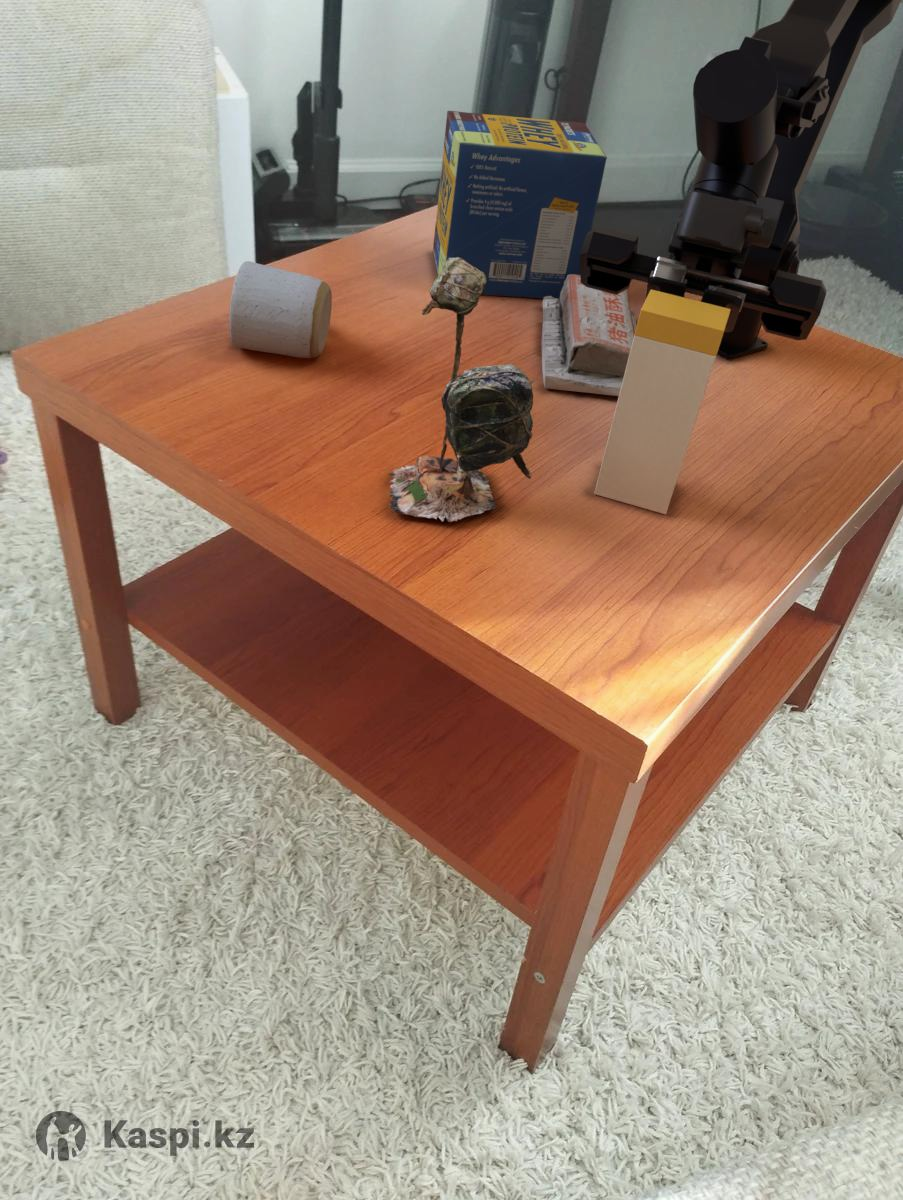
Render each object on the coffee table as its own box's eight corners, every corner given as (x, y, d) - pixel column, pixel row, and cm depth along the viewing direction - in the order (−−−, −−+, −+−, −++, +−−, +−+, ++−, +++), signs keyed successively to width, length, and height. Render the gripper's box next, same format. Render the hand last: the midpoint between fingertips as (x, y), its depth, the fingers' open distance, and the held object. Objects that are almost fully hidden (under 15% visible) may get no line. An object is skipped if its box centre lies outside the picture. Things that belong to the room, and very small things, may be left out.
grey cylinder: (318, 374, 90) (320, 293, 85) (228, 361, 90) (226, 279, 85) (338, 325, 98) (341, 248, 93) (255, 313, 98) (255, 235, 93)
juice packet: (604, 469, 84) (650, 288, 73) (673, 489, 83) (731, 308, 72) (593, 494, 81) (640, 309, 70) (665, 515, 80) (724, 330, 69)
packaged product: (547, 264, 103) (642, 277, 103) (539, 308, 106) (631, 321, 107) (550, 343, 89) (659, 358, 90) (541, 391, 93) (646, 405, 93)
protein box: (430, 253, 114) (445, 108, 104) (560, 262, 116) (588, 122, 106) (439, 293, 106) (456, 141, 96) (579, 302, 109) (610, 154, 99)
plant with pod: (524, 540, 75) (576, 287, 62) (375, 517, 75) (397, 260, 62) (528, 480, 81) (576, 239, 68) (391, 459, 81) (413, 214, 68)
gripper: (612, 115, 72) (546, 314, 71) (871, 172, 69) (806, 381, 68) (610, 194, 83) (553, 367, 82) (834, 246, 80) (778, 428, 79)
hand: (666, 384), depth 78 cm, fingers closed
